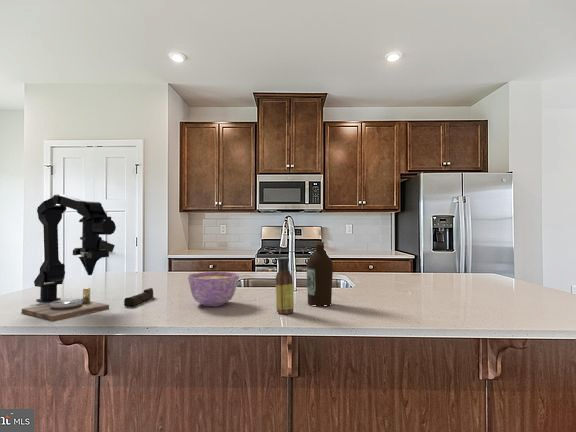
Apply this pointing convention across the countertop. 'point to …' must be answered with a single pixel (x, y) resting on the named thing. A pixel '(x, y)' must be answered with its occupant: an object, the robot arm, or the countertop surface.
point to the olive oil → (319, 277)
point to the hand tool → (139, 298)
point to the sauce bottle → (284, 287)
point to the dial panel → (64, 310)
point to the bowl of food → (213, 287)
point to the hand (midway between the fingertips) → (90, 275)
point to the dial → (71, 301)
